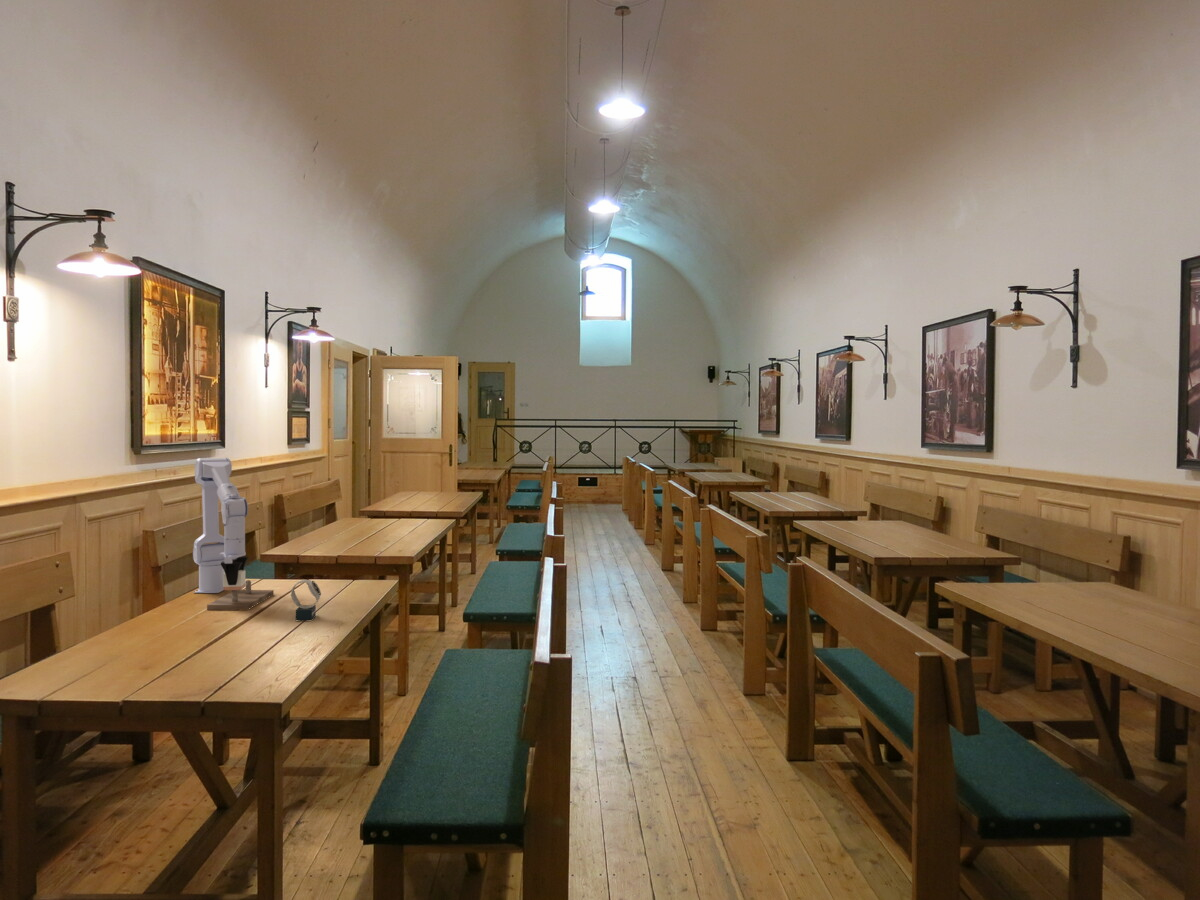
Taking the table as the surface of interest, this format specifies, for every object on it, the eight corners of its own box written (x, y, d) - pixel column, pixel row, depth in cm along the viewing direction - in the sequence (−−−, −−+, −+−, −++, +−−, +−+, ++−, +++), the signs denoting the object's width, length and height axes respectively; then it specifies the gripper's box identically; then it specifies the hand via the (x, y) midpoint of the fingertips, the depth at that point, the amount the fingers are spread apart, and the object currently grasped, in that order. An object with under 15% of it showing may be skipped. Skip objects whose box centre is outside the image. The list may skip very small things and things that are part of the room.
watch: (318, 620, 220) (318, 582, 220) (289, 621, 219) (289, 582, 218) (322, 615, 226) (322, 578, 225) (293, 616, 224) (293, 578, 224)
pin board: (235, 594, 250) (235, 576, 250) (273, 594, 250) (273, 576, 250) (207, 609, 230) (207, 590, 230) (248, 610, 230) (248, 590, 230)
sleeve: (227, 586, 237) (227, 570, 237) (245, 586, 238) (245, 570, 238) (223, 590, 232) (223, 573, 232) (241, 589, 233) (241, 573, 233)
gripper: (227, 534, 241) (227, 578, 241) (213, 542, 226) (213, 588, 227) (251, 534, 242) (251, 577, 242) (239, 542, 228) (239, 587, 228)
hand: (234, 582), depth 235 cm, fingers closed on sleeve, 5 cm apart
